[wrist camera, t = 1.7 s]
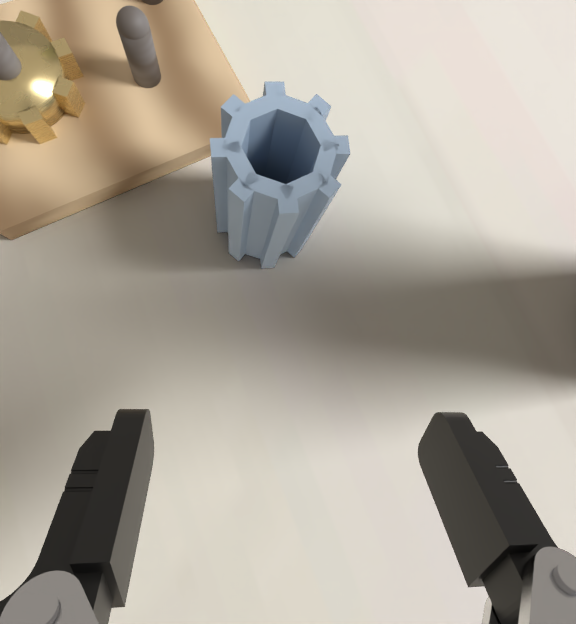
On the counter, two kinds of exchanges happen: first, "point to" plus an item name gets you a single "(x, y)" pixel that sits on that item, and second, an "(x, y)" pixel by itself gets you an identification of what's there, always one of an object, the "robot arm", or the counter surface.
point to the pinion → (274, 172)
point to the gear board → (115, 105)
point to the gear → (37, 81)
